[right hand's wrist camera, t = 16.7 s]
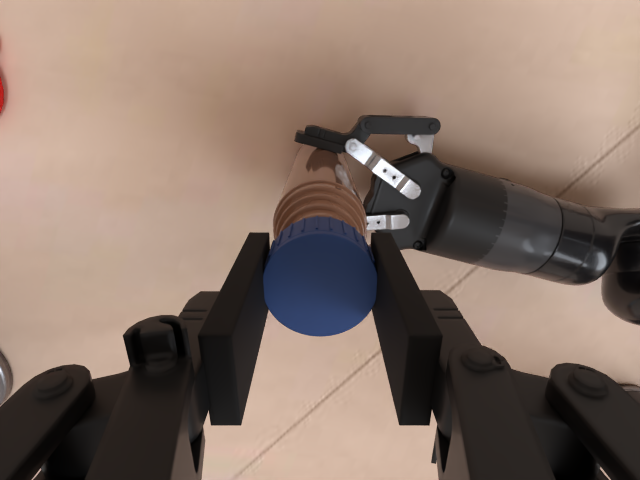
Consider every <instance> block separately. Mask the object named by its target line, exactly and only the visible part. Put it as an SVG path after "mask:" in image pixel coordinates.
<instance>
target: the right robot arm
mask: <svg viewBox="0 0 640 480" xmlns="http://www.w3.org/2000/svg"><path fill="white" fill-rule="evenodd" d="M269 251H270V242H269V233H249V235H248V237H247V239H246V241H245V243H244V245H243V247H242V249H241V251H240V253H239V255H238V257H237V259H236V261H235V263H234V265H233V267H232V269H231V271H230V273H229V275H228V276H227V278H226V280H225V282H224V284H223V286H222V288H221V290H220V291H201V292H199V293H198V294H197V295H195V296H194V297H192V298H191V299H190V300H189V301H188V302H187V304H186V305H185V307H184V308H183V312H181V313H180V315H179V316H178V317H177V316H173V315H160V316H155V317H150V318H147V319H145V320H142V321H140V322H137V323H136V324H134V325H133V326H131V327H130V328H129V329H128V330H127V331H126V332H125V334H124V335H123V338H124V342H125V346H126V350H127V355H128V359H129V363H130V368H129V371H126V372H123V373H119V374H115V375H110V376H106V377H101V378H97V379H92V377H91V374H90V371H89V370H88V369H87V368H86V367H85V366H81V365H76V364H73V365H63V366H59V367H56V368H52V369H49V370H47V371H45V372H43V373H41V374H39V375H37V376H35V377H34V378H32V379H31V380H30V381H28V382H27V383H26V384H24V385H23V386H22V387H21V388H20V389H19V390H18V391H17V392H15V393H14V394H13V395H12V396H11V397H10V398H9V399H8V400H7V401H6V402H5V403H4V404H3V405H2V406H1V407H0V480H32V478H33V477H34V476H35V474H36V473H37V472H38V471H39V469H40V468H41V471H40V472H39V474H38V475H37V476H36V477H35V478H34V479H33V480H201V478H202V468H203V458H204V447H205V436H204V430H203V425H204V422H205V419H206V416H207V413H208V410H209V415H210V422H211V425H241V423H242V419H243V415H244V411H245V406H246V402H247V398H248V394H249V390H250V385H251V381H252V377H253V373H254V369H255V364H256V360H257V356H258V352H259V348H260V343H261V339H262V335H263V331H264V327H265V322H266V318H267V314H268V310H269V309H268V307H267V305H266V303H265V298H264V283H263V272H264V269H265V267H264V266H265V263H266V259H267V256H268V253H269ZM371 251H372V254H373V257H374V260H375V262H374V265H375V268H376V271H377V290H376V301H375V303H374V306H373V307H372V312H373V316H374V321H375V325H376V329H377V333H378V337H379V342H380V346H381V350H382V354H383V358H384V363H385V367H386V371H387V375H388V380H389V384H390V388H391V392H392V396H393V401H394V405H395V409H396V413H397V417H398V422H399V425H429V424H430V418H431V411H432V410H433V413H434V416H435V419H436V421H437V430H436V436H435V442H434V448H433V454H432V461H431V463H435V464H436V461H437V467H438V477H439V480H609V479H608V478H607V477H606V476H605V475H604V474H603V472H602V471H601V470H600V466H601V467H602V469H603V470H604V471H605V472H606V474H607V475H608V476H609V478H610V479H611V480H640V404H639V403H638V402H637V401H636V400H635V399H634V398H633V397H632V396H631V395H630V394H629V393H627V392H626V391H625V390H624V389H623V388H622V387H621V386H620V385H619V384H618V383H616V382H615V381H614V380H612V379H611V378H610V377H608V376H607V375H605V374H603V373H601V372H599V371H597V370H595V369H593V368H590V367H587V366H584V365H580V364H573V363H563V364H558V365H556V366H555V367H554V368H552V369H551V373H550V376H549V378H546V377H542V376H537V375H532V374H528V373H523V372H520V371H516V370H513V369H511V367H510V365H509V364H508V362H507V361H506V359H505V358H504V357H503V356H501V355H500V354H499V353H497V352H496V351H494V350H492V349H490V348H488V347H485V346H482V345H481V344H480V342H479V341H478V339H477V338H476V336H475V334H474V333H473V331H472V330H471V328H470V327H469V325H468V323H467V322H466V320H465V319H463V316H462V314H461V313H460V311H458V308H457V306H456V305H455V303H454V302H453V300H452V299H451V298H450V297H448V296H447V295H446V294H444V293H443V292H441V291H440V290H420V289H419V287H418V286H417V284H416V282H415V280H414V278H413V276H412V274H411V272H410V270H409V268H408V266H407V264H406V262H405V260H404V258H403V256H402V254H401V252H400V250H399V248H398V246H397V244H396V242H395V240H394V238H393V236H392V234H391V233H371ZM11 389H12V374H11V370H10V368H9V365H8V363H7V361H6V359H5V358H4V356H3V355H2V354H1V352H0V405H1V404H2V403H3V402H4V401H5V400H6V399H7V398H8V396H9V394H10V392H11Z"/></svg>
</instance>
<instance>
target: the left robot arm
mask: <svg viewBox="0 0 640 480" xmlns="http://www.w3.org/2000/svg"><path fill="white" fill-rule="evenodd" d="M439 130H440V122H439V120H438V119H436V118H431V117H426V116H389V115H362V116H361V117H359V119H358V121H357V123H356V124H355V126H354V127H353V129H352V130H351V131H350V132H348V133H340V132H336V131H333V130H329V129H326V128H322V127H319V126H315V125H309V126H306V128H305V132H304V131H300V130H297V132H296V136H295V140H294V141H296V142H298V143H302V144H305V145H309V146H313V147H316V148H320V149H324V150H328V151H331V152H335V153H338V154H341V153H342V152H346V153H348V154H350V155H351V156H352V157H354V158H355V159H357V160H358V161H359V162H361V163H362V164H363V165H365V166H366V167H367V168H368V169H370V170H371V171H372V172H373V175H372V178H371V187H370V191H369V192H368V194H367V195H366V197H365V200H364V203H363V207H364V209H365V213H366V217H367V222H368V223H367V230H375V231H376V232H377V233H391V234H392V236H393V238H394V240H395V242H396V244H397V246H398V248H399V250H403V249H415V250H419V251H422V252H426V253H430V254H434V255H438V256H442V257H445V258H449V259H453V260H457V261H461V262H465V263H469V264H473V265H477V266H481V267H485V268H489V269H494V270H499V271H508V272H516V273H521V274H525V275H529V276H533V277H537V278H541V279H545V280H549V281H553V282H556V283H561V284H566V285H585V284H588V283H591V282H593V281H595V280H597V279H598V278H599V277H601V276H602V285H601V294H602V299H603V302H604V304H605V306H606V307H607V308H608V310H609V311H611V312H612V313H613V314H614V315H615V316H617V317H619V318H620V319H622V320H624V321H626V322H629V323H632V324H635V325H640V208H603V207H591V206H584V205H581V204H577V203H574V202H570V201H567V200H563V199H559V198H556V197H552V196H549V195H546V194H543V193H540V192H538V191H536V190H534V189H532V188H529V187H527V186H524V185H521V184H517V183H514V182H511V181H509V180H508V179H504V178H496V177H492V176H489V175H485V174H481V173H478V172H474V171H471V170H467V169H463V168H460V167H456V166H453V165H449V164H445V163H442V162H440V161H439V160H438V159H437V158H436V156H434V155H433V154H432V148H433V141H434V134H436V133H437V132H438V131H439ZM370 134H405V139H406V141H407V142H409V143H411V144H414V145H416V146H417V149H418V151H417V152H414V153H412V154H409V155H406V156H404V157H401V158H398V159H396V160H393V161H390V162H389V161H387V160H386V159H385V158H383V157H382V156H381V155H379V154H378V153H377V152H375V151H374V150H372V149H371V148H370V147H368V146H367V145H365V144H364V142H365V141H366V140H367V138H368V137H369V136H370ZM368 246H370V247H371V244H370V245H368ZM621 387H622V388H623V389H624V390H625V391H626V392H627V393H629V394H630V395H631V396H632V397H633V398H634V399H635V400H636V401H637V402H638V403H639V404H640V387H637V386H632V385H622V386H621Z"/></svg>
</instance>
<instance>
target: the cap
mask: <svg viewBox="0 0 640 480" xmlns="http://www.w3.org/2000/svg"><path fill="white" fill-rule="evenodd" d="M374 262H375V260H374V257H373V254H372V251H371V247H370V246H368V245H367V243H366V240H365V237H364V236H362V235H361V234H360V233H359V232H358V231H357V230H356V228H355V227H352V226H350V225H349V224H347V223H345V221H343V220H342V221H340V220H338V219H334V218H332V217H318V216H316V217H310V218H306V219H305V218H303V219H302V220H300V221H297V222H295V223H291V224H290V226H288V227H287V228H286V229H285V230H283V231H282V230H281V231H280V234H279V236H278V237H277V238H276V240H273V242H272V245H271V248H270V251H269V253H268V256H267V259H266V263H265V266H264V267H265V269H264V272H263V283H264V298H265V303H266V305H267V307H268V309H269V310H270V312H271V313H272V315H273V316H274V317H275V318H276V319H277V320H278V321H279V322H280V323H282V324H283V325H284V326H286V327H287V328H289V329H291V330H293V331H295V332H298V333H301V334H305V335H309V336H331V335H336V334H339V333H342V332H345V331H347V330H349V329H351V328H353V327H354V326H356V325H357V324H359V323H360V322H361V321H362V320H363V319H364V318H365V317H366V316H367V315H368V314H369V312H370V311H371V309H372V307H373V306H374V303H375V301H376V290H377V271H376V268H375V265H374Z"/></svg>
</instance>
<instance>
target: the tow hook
mask: <svg viewBox="0 0 640 480" xmlns="http://www.w3.org/2000/svg"><path fill="white" fill-rule="evenodd" d="M3 100H4V90H3V86H2V82H1V78H0V112H1V109H2V106H3Z"/></svg>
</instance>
